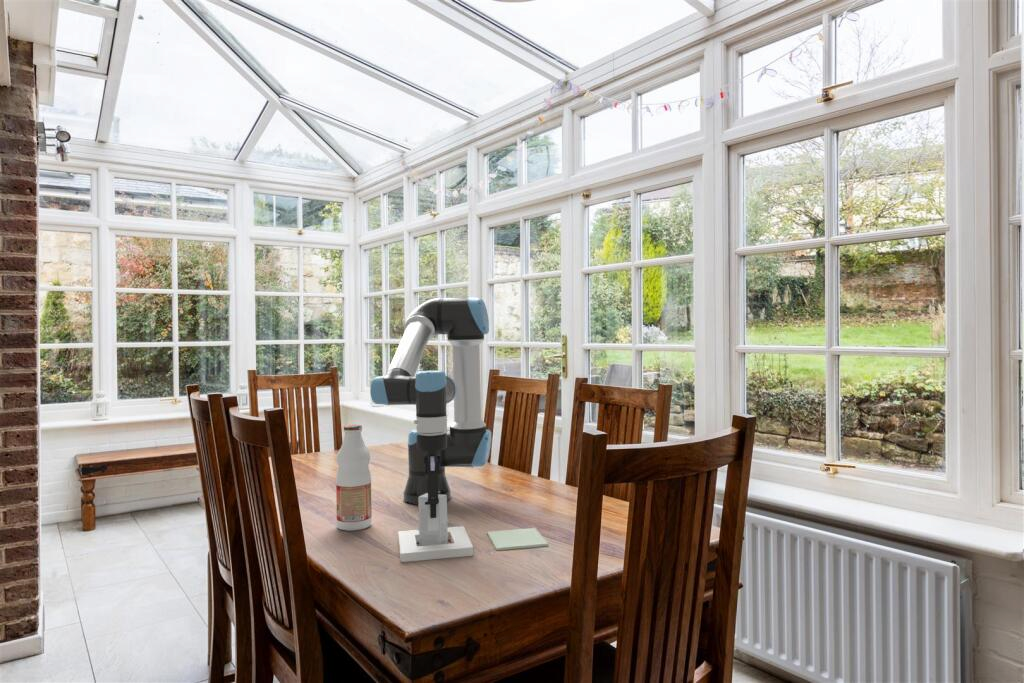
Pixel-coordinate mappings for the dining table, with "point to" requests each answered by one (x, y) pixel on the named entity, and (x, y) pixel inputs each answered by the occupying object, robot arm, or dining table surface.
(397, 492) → the dining table surface
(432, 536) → the skincare box
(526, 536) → the pad
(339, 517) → the fruit juice
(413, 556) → the white frame
